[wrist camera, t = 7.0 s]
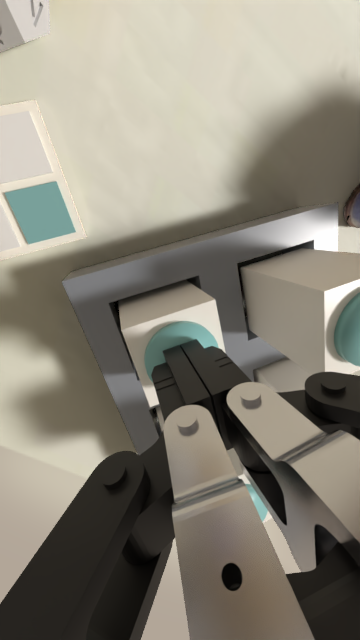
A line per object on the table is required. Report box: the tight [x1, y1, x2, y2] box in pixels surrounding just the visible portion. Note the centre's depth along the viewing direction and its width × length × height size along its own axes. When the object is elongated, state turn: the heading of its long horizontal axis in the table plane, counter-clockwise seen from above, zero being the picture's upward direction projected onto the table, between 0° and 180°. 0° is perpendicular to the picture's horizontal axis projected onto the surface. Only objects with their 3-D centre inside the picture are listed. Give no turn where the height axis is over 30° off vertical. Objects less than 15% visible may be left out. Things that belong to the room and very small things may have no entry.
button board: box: [62, 202, 338, 455], centre depth 17 cm, size 15×15×3 cm
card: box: [0, 100, 87, 261], centre depth 12 cm, size 6×6×1 cm
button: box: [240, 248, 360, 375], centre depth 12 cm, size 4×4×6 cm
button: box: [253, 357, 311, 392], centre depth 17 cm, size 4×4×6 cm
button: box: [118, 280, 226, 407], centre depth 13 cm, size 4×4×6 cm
